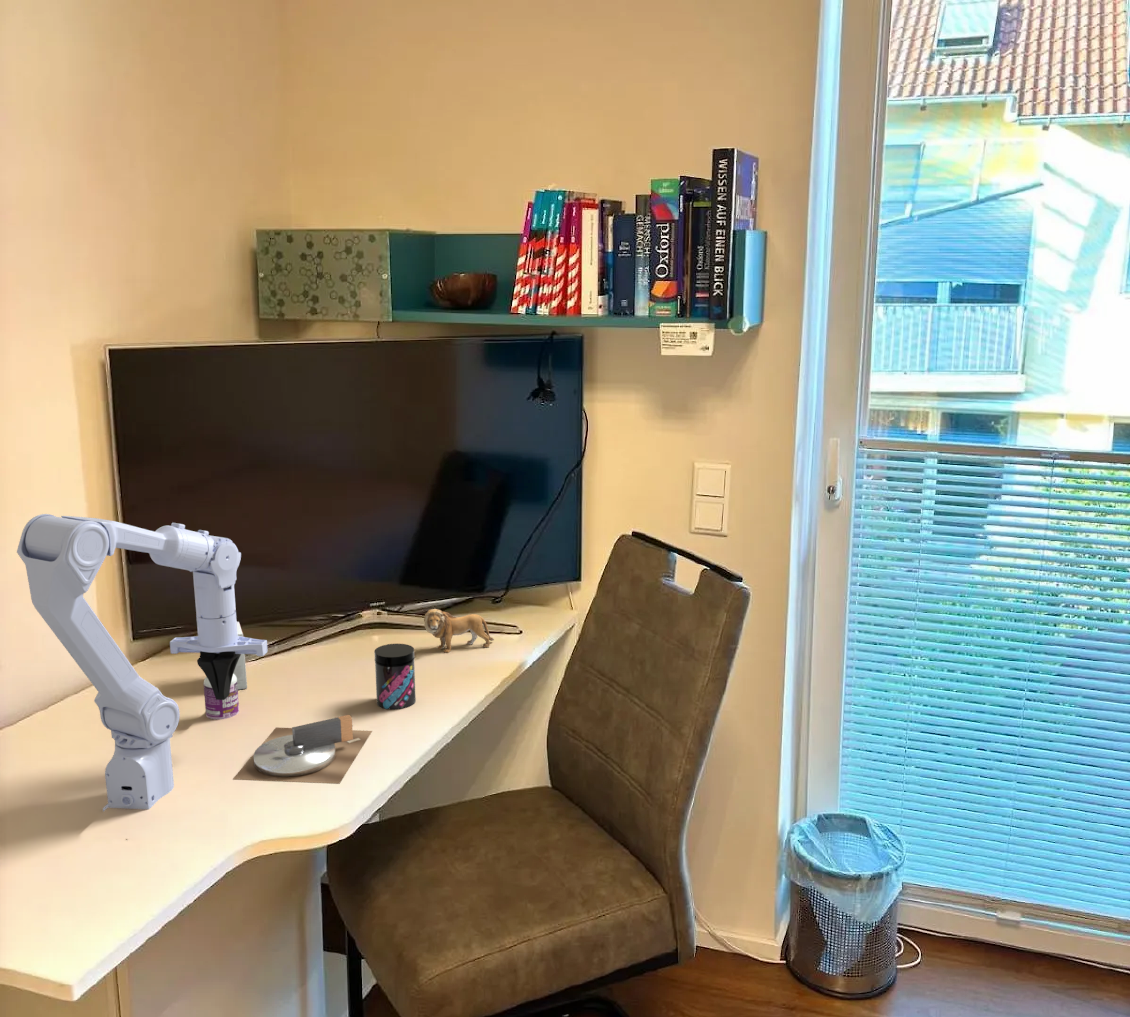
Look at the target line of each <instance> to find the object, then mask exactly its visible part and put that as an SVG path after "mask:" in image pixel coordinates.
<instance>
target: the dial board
mask: <svg viewBox="0 0 1130 1017" xmlns="http://www.w3.org/2000/svg"><path fill="white" fill-rule="evenodd" d="M352 731H353V739H352V740H348V741H343V742H338V743H334V745H335V758H334V760H333V761H332V762H331V763H330V764H329V765H328V766H326V767H324V768H322V769H320V770H318V771H315V772H312V773H309V774H305V775H299V776H289V777H280V776H272V775H267V774H264V773H262V772H260V771H259V770H257V769H256V767H255V766H254V753H253V754H252V755H251V757H250V758H249V759H248V760H247V761H246V763H245V764H244V765H243V766H242V768H240V769H239V771H238V772H237V773H236V774H235V776H233V778H232V780H233V781H234V780H238V781H258V782H259V781H260V782H261V781H262V782H284V783H285V782H287V783H311V784H313V783H314V784H331V785H332V784H335V785H340V784H341V782H342V781H343V779H344V778H345V776H346V774H347V773H348V771H349V770H350V768H351V766H352V765H353V763H354V762H355V760H356V758H357V756H359V753H360V752H361V751H362V749H363V747H364V745H365V744H366V742H367V740H368V739H369V737H370V735H371V734H372V732H373V730H360V729H359V730H358V729H357V730H356V729H352ZM288 735H293V733H292V727H275V728H274V729H273V731H271V733H270V734H269V735H267V737H266V739H265V740H264V741H263V742H262V743H261V745H262V744H264V743H266V742H268V741H270V740H273V739H276V738H279V737H283V736H288Z"/></svg>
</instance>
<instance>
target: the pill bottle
mask: <svg viewBox="0 0 1130 1017" xmlns="http://www.w3.org/2000/svg"><path fill="white" fill-rule="evenodd" d="M203 693H204V708H205V716H206V717H207V718H208V719H210V720H226V719H230V718H233V717H235V716H237V715H239V713H240V705H239V704H240V703H239V690H238V686H237V677H236V676H235V674H233V677H232V681H231V686H230V694H229V696H228V697H227V698H226V699H225V700H216V698H215V695H214V692H213V689H212V687H211V684H210V682H209V680H208V678H207V676H206V677H204V680H203Z"/></svg>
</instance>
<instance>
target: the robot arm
mask: <svg viewBox="0 0 1130 1017" xmlns="http://www.w3.org/2000/svg"><path fill="white" fill-rule="evenodd" d="M209 534H210V532H209V531H208V530H202V529H198V530H197V531H193V530H190V529H186V525H185V524H183V523H176V522H172V523H171V525H163V526H161V527H159V528H157V529H156V530H155V531H154V530H149V529H147V528H141V527H138V526H135V525H131V524H127V523H124V522H118V521H115V520H111V519H110V520H109V519H103V518H98V517H97V518H96V517H87V516H85V517H84V516H74V515H73V516H70V515H61V517H60V516H56V515H54V514H49V513H42V514H38V515H35V516H33V517H32V518H30V520H28V522H26V524H25V526H24V528H23V530H22V532H21V535H20V539H19V541H18V546H17V549H16V553H17V555H18V557H20V559H21V560H22V562H23V564H24V565H25V570H26V575H27V580H28V581H27V582H28V586H29V593H30V599H31V602H32V605H33V607H34V609H35V610H36V611H37V613H38V614H39V615H40V617H41V618H42V619H43V621H44V623H46V625H47V626H48V627H49V629H50V630H51V632H53V634H54V635H55V637H56V638H57V639H58V640H59V642H60V643H61V644H62V646H63V647H64V649H65V650H66V651H67V652H68V654H69V655H70V657H72V659H73V661H74V662H75V663H76V664H77V665H78V667H79V668H80V670H82V672H83V674H84V675H85V676H86V677H87V678H88V680H89V681H90V683H91V684H92V686H93V687H94V688H95V689H96V691H97V694H96V695H95V698H94V699H93V701H94V703H95V705H96V706H97V707H98V710H99V716H100V721H101V723H102V725H103V726H104V727H105V728H106V729H107V730H110V733H111V734H110V735H111V739H113V740H114V752H113V755H112V757H111V759H110V760H109V761H108V763H107V765H106V767H105V769H104V777H105V786H106V797H107V804H106V805H104V806H103V808H102V812H106V810H107V809H108V808H109V809H110V808H111V809H129V810H130V809H131V810H133V809H135V810H150V809H151V808H152V807H153V806H154V805H155V804H156V803H157V802H158V801H159V800H160V799H162V798H163V797H165V796H166V795H168V794H169V793H170V792H172V791H173V790H174V787H175V783H174V782H175V781H174V769H173V759H172V750H171V749H172V748H171V747H172V746H171V738H173V734H174V733H175V731H176V729H177V727H178V725H179V722H180V717H181V714H180V712H181V711H180V708H179V705H178V703H177V702H176V701H175V700H174V699H172V698H171V697H168V696H167V697H166V696H165V695H164V694H162V692H161V690H159V688H158V687H156V686H155V685H153V684H152V683H151V682H149V681H147V680H145V679H144V678H143V677H141V676H140V675H139V673H138V672H137V671H136V669H135V668H134V666H133V665H132V663H130V661H129V659H128V658H127V657H126V654H124V652H123V651H122V650H121V648H120V647H119V645H118V644H117V642H116V641H115V639H114V638H113V637H112V636H111V634H110V633H109V631H108V630H107V628H106V627H105V626H104V625H103V623H102V622H101V620H100V619H99V617H98V615H97V614H96V613H95V611H94V610H93V609H92V607H91V606H90V605H89V603H88V601H87V599H85V598H84V594H86V593H87V592H88V591H89V589H90V587H91V585H92V583H93V581H94V580H95V578H96V576H97V574H98V573H99V571H100V569H101V567H102V565H103V563H104V561H105V559H106V557H112V556H114V554H115V551H116V549H123V550H128V551H135V552H141V553H148V554H149V557H150V558H151V560H152V561H153V562H154V563H155V564H156V565H159V566H164V567H167V568H169V567H170V568H173V569H180V570H185V571H189V572H190V573H192V576H193V577H192V578H193V588H194V590H193V591H194V600H195V601H194V602H195V612H196V613H195V614H196V615H195V616H196V627H197V635H196V636H195V635H194V636H184V637H174V638H173V639H172V640H170V641H169V648H170V654H175V655H176V654H178V653H192V654H193V653H196V654H197V653H198V654H199V658H198V659H196V663H197V666H198V667H199V668H200V669H201V671H202V672H203V673H204V675H205V676H206V677H207V678H208V680H209V682H210V684H211V687H212V689H213V692H214V695H215V698H216V700H225V699H226V698H227V697H228V696H229V694H230V686H231V681H232V677H233V673H234V670H235V667H236V665H237V662H238V660H239V658H240V656H241V654H245V655H256V656H257V657H264V656H265V655H266V654H267V653H268V640H267V639H258V638H252V637H246V636H243V637H241V636H238V634H237V622H238V621H237V610H236V608H237V607H236V595H235V594H236V593H235V584H236V581H237V570H238V568H239V566H240V563H241V558H242V552H240V551H239V549H238V547H237V545H236V544H235V543H234V542H233V540H231V538H228V537H223V536H214V535H209Z"/></svg>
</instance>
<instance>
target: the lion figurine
mask: <svg viewBox="0 0 1130 1017" xmlns="http://www.w3.org/2000/svg"><path fill="white" fill-rule="evenodd" d="M423 621H424V629H426V630H425V631H426V632H428V633H429V634H432V636H434V638H436V639H439V641H440V644H439V645H438V646H437V649H439V650H442V649H443V652H444V653H445V654H446V653H447V654H449V653H450V652H451V651H452V638H453V636H460V635H461V636H462V635H464V634H465V633H468V632H469V631H470V634H471V639H470V640H468V641H467V642H466V644H467V645H473V644H474V643H475V641H476V640H477V639H478V637H479V638H481V639H483V640H484V641H485V643H483V645H482V647H483V648H489V647H490V645H491V643H490V641H491V642H493V641H495V639H494V638H493V637H491V635H490V631H489V628H488V624H487V622H486V620H485V618H484V617H482V616H481V615H479V614H475V613H474V614H473V613H472V614H471V613H469V614H467V615H464V616H454V615H452V614H451V613H449V612H446V611H442V610H441V609H439V608H438V609H437V608H434V609H433V608H432V609H428V611H427V612H426V613H425V614H424V618H423ZM444 648H445V649H444Z"/></svg>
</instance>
